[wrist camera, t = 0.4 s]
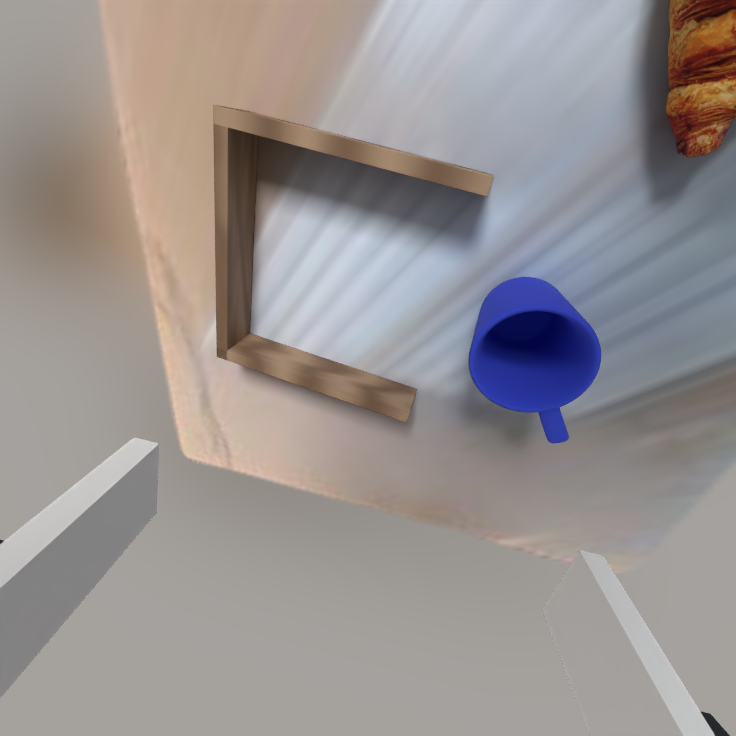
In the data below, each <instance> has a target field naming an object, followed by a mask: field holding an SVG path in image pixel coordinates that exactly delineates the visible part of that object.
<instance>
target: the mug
mask: <svg viewBox="0 0 736 736" xmlns="http://www.w3.org/2000/svg"><path fill="white" fill-rule="evenodd" d="M600 362H601V348H600V343H599V340H598V338H597V335H596V333H595V332H594V330H593V329H592V327H591V326H590V325H589V324H588V323H587V321H586V320H585V319H584V318H583V317H582V316H581V315H580V314H579V313H578V312H577V311H576V310H575V309H574V307H573V306H572V305H571V304H570V303H569V302H568V301H567V300H566V299H565V298H564V297H563V296H562V295H561V293H560V292H559V291H558V290H557V289H556V288H555V287H553V286H552V285H551V284H549V283H547V282H545V281H543V280H540V279H537V278H531V277H520V278H514V279H511V280H508V281H506V282H503V283H502V284H500V285H498V286H497V287H496V288H494V289H493V290H492V291H491V292H490V293H489V294H488V296H487V297H486V298H485V300H484V302H483V304H482V306H481V309H480V313H479V317H478V321H477V325H476V328H475V332H474V336H473V340H472V344H471V348H470V352H469V370H470V374H471V377H472V379H473V381H474V383H475V385H476V387H477V388H478V389H479V390H480V392H481V393H482V394H483V395H484V396H485V397H486V398H488V399H489V400H490V401H492V402H494V403H495V404H497V405H499V406H501V407H504V408H507V409H510V410H514V411H519V412H539V416H540V419H541V423H542V426H543V429H544V431H545V434H546V437H547V440H548V441H549V442H550V443H560V442H565V441H566V440H568V438H569V435H568V432H567V429H566V426H565V423H564V420H563V417H562V414H561V411H560V408H559V407H561V406H564V405H566V404H568V403H570V402H571V401H573V400H575V399H576V398H577V397H579V396H580V395H581V394H582V393H583V392H585V391H586V389H587V388H588V387H589V386H590V385H591V383H592V382H593V380H594V379H595V377H596V375H597V373H598V370H599V366H600Z"/></svg>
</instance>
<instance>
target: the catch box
mask: <svg viewBox="0 0 736 736" xmlns="http://www.w3.org/2000/svg"><path fill="white" fill-rule="evenodd" d="M213 122H214V192H215V261H216V331H217V357H219V358H222V359H225V360H228V361H231V362H234V363H237V364H239V365H242V366H245V367H248V368H251V369H254V370H257V371H260V372H263V373H265V374H268V375H271V376H274V377H277V378H280V379H283V380H286V381H288V382H291V383H294V384H297V385H300V386H303V387H306V388H309V389H311V390H314V391H317V392H320V393H323V394H326V395H329V396H332V397H335V398H337V399H340V400H343V401H346V402H349V403H352V404H355V405H358V406H360V407H363V408H366V409H369V410H372V411H375V412H378V413H381V414H384V415H386V416H389V417H392V418H395V419H398V420H401V421H404V422H407V420H408V417H409V414H410V411H411V407H412V404H413V400H414V397H415V393H416V390H417V389H415V388H412V387H409V386H406V385H403V384H400V383H397V382H394V381H391V380H388V379H385V378H382V377H379V376H376V375H373V374H370V373H367V372H364V371H361V370H358V369H355V368H352V367H349V366H346V365H343V364H340V363H337V362H334V361H331V360H328V359H325V358H322V357H319V356H316V355H313V354H310V353H307V352H304V351H301V350H298V349H295V348H292V347H289V346H286V345H283V344H280V343H277V342H274V341H271V340H268V339H265V338H262V337H259V336H256V335H253V334H250V317H251V293H252V268H253V244H254V220H255V196H256V171H257V147H258V136H262V137H266V138H270V139H273V140H277V141H281V142H285V143H288V144H292V145H296V146H300V147H303V148H307V149H311V150H315V151H318V152H322V153H326V154H330V155H334V156H337V157H341V158H345V159H349V160H352V161H356V162H360V163H364V164H367V165H371V166H375V167H379V168H382V169H386V170H390V171H394V172H397V173H401V174H405V175H409V176H412V177H416V178H420V179H424V180H427V181H431V182H435V183H439V184H442V185H446V186H450V187H454V188H457V189H461V190H465V191H469V192H472V193H476V194H480V195H484V196H487V195H488V192H489V189H490V187H491V184H492V181H493V178H494V177H493V175H492V174H488V173H485V172H481V171H477V170H473V169H469V168H465V167H461V166H458V165H454V164H450V163H446V162H442V161H438V160H434V159H430V158H427V157H423V156H419V155H415V154H411V153H407V152H403V151H400V150H396V149H392V148H388V147H384V146H380V145H376V144H373V143H369V142H365V141H361V140H357V139H353V138H349V137H345V136H342V135H338V134H334V133H330V132H326V131H322V130H318V129H315V128H311V127H307V126H303V125H299V124H295V123H291V122H288V121H284V120H280V119H276V118H272V117H268V116H264V115H261V114H257V113H253V112H249V111H245V110H239V109H234V108H229V107H223V106H218V105H213Z"/></svg>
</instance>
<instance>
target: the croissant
mask: <svg viewBox="0 0 736 736" xmlns="http://www.w3.org/2000/svg"><path fill="white" fill-rule="evenodd" d="M669 23H670V38H669V43H668V80H669V86H670V89H671V91H670V92H669V94H668V96H667V103H666V113H667V115H668V119H669V123H670V126H671V128H672V131H673V134H674V137H675V139H676V147H677V152H678V153H679V154H681V155H685V156H686V157H696V156H701V155H707V154H708V153H710V152H711V151H713V150H715V149H717V148H718V147H719V146H720V145H721V142H722V140H723V137H724V136H725V134H726V132H727V130H728V128H729V126H730V125H731V123H732V121H733V120H734V118H735V117H736V0H670V9H669Z"/></svg>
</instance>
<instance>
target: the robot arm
mask: <svg viewBox="0 0 736 736" xmlns="http://www.w3.org/2000/svg"><path fill="white" fill-rule="evenodd" d="M158 462H159V443H155V442H151V441H147V440H143V439H139V438H133V439H132V440H130V441H129V442H128V443H126V444H125V445H124V446H123V447H122V448H120V449H119V450H118V451H116V452H115V453H114V454H113V455H111V456H110V457H109V458H108V459H106V460H105V461H104V462H103V463H101V464H100V465H99V466H98V467H96V468H95V469H94V470H93V471H92V472H90V473H89V474H88V475H86V476H85V477H84V478H83V479H81V480H80V481H79V482H78V483H76V484H75V485H74V486H73V487H72V488H70V489H69V490H68V491H66V492H65V493H64V494H63V495H61V496H60V497H59V498H58V499H56V500H55V501H54V502H53V503H51V504H50V505H49V506H48V507H46V508H45V509H44V510H43V511H41V512H40V513H39V514H38V515H36V516H35V517H34V518H33V519H31V520H30V521H29V522H28V523H26V524H25V525H24V526H23V527H21V528H20V529H19V530H18V531H17V532H15V533H14V534H13V535H11V536H10V537H9V538H8V539H6V540H5V541H3V540H0V698H1V697H2V696H3V695H4V694H5V692H6V691H7V690H8V689H9V688H10V686H11V685H12V684H13V683H14V682H15V681H16V679H17V678H18V677H19V676H20V675H21V673H22V672H23V671H24V670H25V669H26V667H27V666H28V665H29V664H30V663H31V662H32V660H33V659H34V658H35V656H37V654H38V653H39V652H40V651H41V650H42V648H43V647H44V646H45V645H46V644H47V643H48V641H49V640H50V639H51V638H52V637H53V635H54V634H55V633H56V632H57V631H58V629H59V628H60V627H61V626H62V625H63V624H64V622H65V621H66V620H67V619H68V618H69V616H70V615H71V614H72V613H73V612H74V610H75V609H76V608H77V607H78V606H79V605H80V603H81V602H82V601H83V600H84V599H85V597H86V596H87V595H88V594H89V593H90V592H91V590H92V589H93V588H94V587H95V586H96V584H97V583H98V582H99V581H100V580H101V579H102V577H103V576H104V575H105V574H106V572H107V571H108V570H109V569H110V568H111V567H112V565H113V564H114V563H115V562H116V561H117V560H118V558H119V557H120V556H121V555H122V554H123V552H124V551H125V550H126V549H127V548H128V546H129V545H130V544H131V543H132V542H133V541H134V539H135V538H136V537H137V536H138V535H139V533H140V532H141V531H142V530H143V529H144V527H145V526H146V525H147V524H148V523H149V522H150V520H151V519H152V518H153V517H154V516H155V514H156V513H157V512H156V511H157V487H158ZM542 610H543V613H544V616H545V618H546V621H547V624H548V626H549V629H550V632H551V634H552V637H553V640H554V642H555V645H556V648H557V650H558V653H559V656H560V658H561V661H562V664H563V666H564V669H565V671H566V674H567V677H568V680H569V682H570V685H571V688H572V690H573V693H574V695H575V698H576V701H577V703H578V706H579V709H580V711H581V714H582V717H583V720H584V722H585V725H586V728H587V730H588V733H589V735H590V736H729V734H728V733H727V732H726V731H725V730H724V729H723V728H722V727H721V726H720V724H719V723H718V722H717V721H716V720H715V719H714V717H713V716H712V715H711V714H709V713H705V712H700V711H699V709H698V707H697V706H696V704H695V702H694V701H693V699H692V698H691V696H690V694H689V693H688V691H687V690H686V688H685V686H684V685H683V683H682V682H681V680H680V678H679V677H678V675H677V674H676V672H675V670H674V669H673V667H672V666H671V664H670V662H669V661H668V659H667V657H666V656H665V654H664V653H663V651H662V650H661V648H660V646H659V645H658V643H657V641H656V640H655V638H654V637H653V635H652V634H651V632H650V630H649V629H648V627H647V625H646V624H645V622H644V621H643V619H642V618H641V616H640V614H639V612H638V611H637V609H636V608H635V606H634V604H633V603H632V601H631V600H630V598H629V596H628V595H627V593H626V592H625V590H624V588H623V587H622V585H621V584H620V582H619V580H618V579H617V577H616V576H615V574H614V572H613V571H612V569H611V567H610V566H609V564H608V563H607V561H606V559H605V558H604V556H601V555H597V554H593V553H589V552H585V551H581V550H579V551H578V553H577V555H576V556H575V558H574V559H573V561H572V563H571V564H570V566H569V567H568V569H567V571H566V572H565V574H564V576H563V577H562V579H561V580H560V582H559V584H558V585H557V587H556V588H555V590H554V592H553V593H552V595H551V597H550V598H549V600H548V601H547V603H546V605H545V606H544V608H543V609H542Z"/></svg>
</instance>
